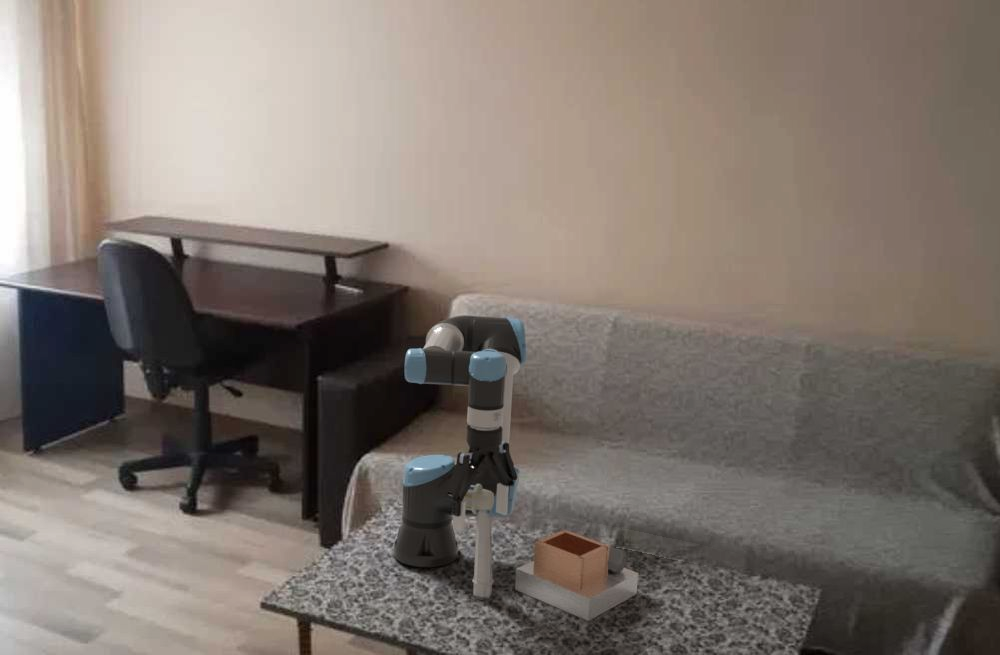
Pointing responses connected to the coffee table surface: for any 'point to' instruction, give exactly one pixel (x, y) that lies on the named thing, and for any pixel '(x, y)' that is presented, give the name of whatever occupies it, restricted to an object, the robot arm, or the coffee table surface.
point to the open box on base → (577, 575)
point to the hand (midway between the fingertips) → (480, 521)
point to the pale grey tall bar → (482, 539)
